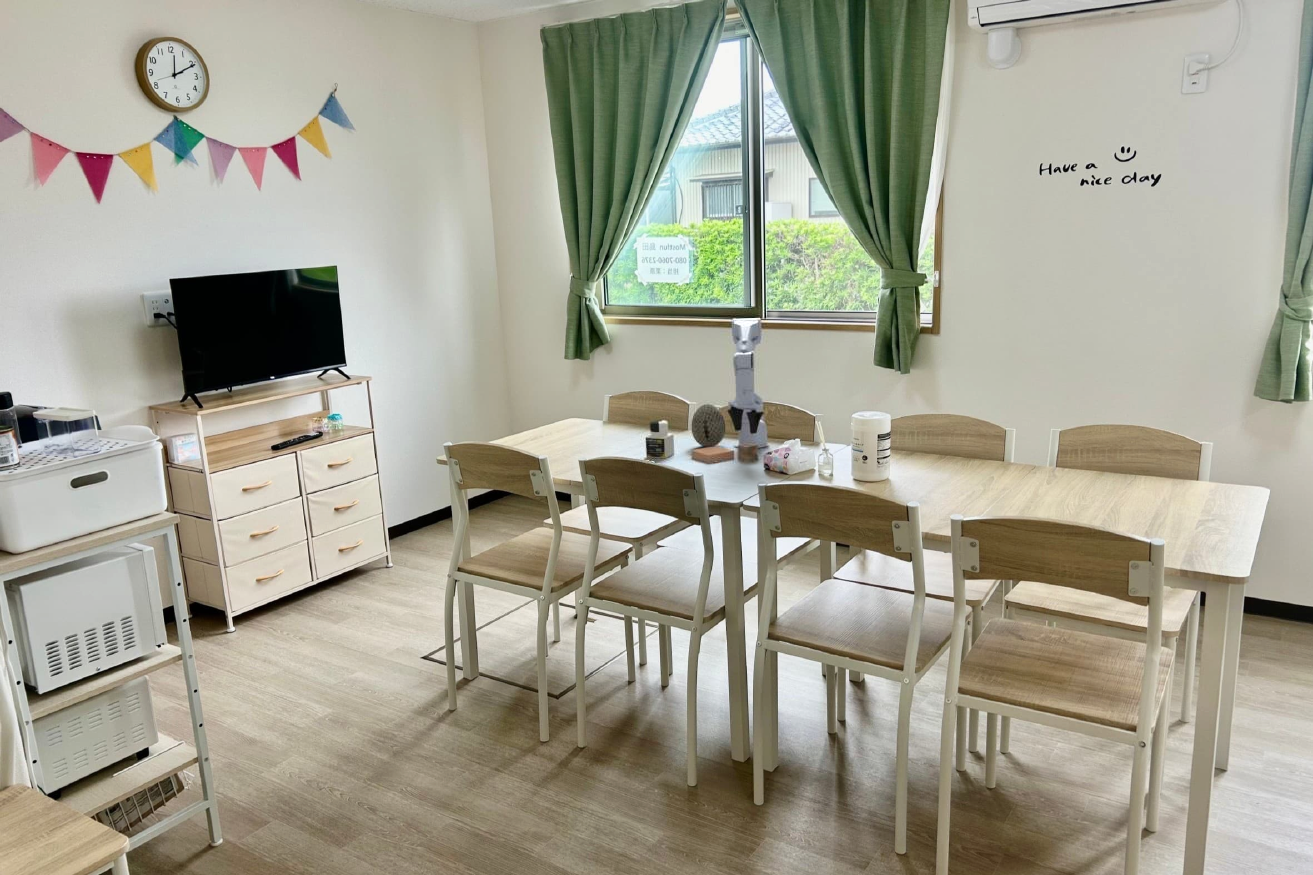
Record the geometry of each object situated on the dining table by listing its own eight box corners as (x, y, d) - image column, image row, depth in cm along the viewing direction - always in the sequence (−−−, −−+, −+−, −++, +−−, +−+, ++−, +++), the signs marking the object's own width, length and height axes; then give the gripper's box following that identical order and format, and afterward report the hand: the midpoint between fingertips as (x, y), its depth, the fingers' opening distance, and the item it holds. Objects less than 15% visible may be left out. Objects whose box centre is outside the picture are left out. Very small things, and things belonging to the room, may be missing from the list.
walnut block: (749, 457, 314) (749, 442, 313) (758, 460, 310) (757, 445, 309) (738, 459, 312) (737, 445, 311) (746, 462, 308) (746, 447, 307)
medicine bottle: (646, 457, 321) (644, 422, 319) (656, 452, 328) (654, 418, 325) (665, 458, 318) (663, 423, 316) (674, 454, 324) (673, 419, 322)
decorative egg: (724, 450, 326) (722, 407, 323) (690, 450, 328) (688, 407, 325) (727, 443, 338) (725, 401, 335) (694, 443, 340) (692, 401, 337)
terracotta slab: (716, 454, 323) (716, 445, 322) (734, 459, 314) (733, 450, 314) (691, 459, 318) (691, 450, 317) (709, 464, 309) (708, 455, 309)
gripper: (720, 389, 309) (721, 430, 312) (750, 393, 297) (751, 436, 300) (737, 386, 313) (738, 427, 316) (767, 390, 301) (768, 433, 304)
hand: (745, 431), depth 308 cm, fingers open, 7 cm apart
